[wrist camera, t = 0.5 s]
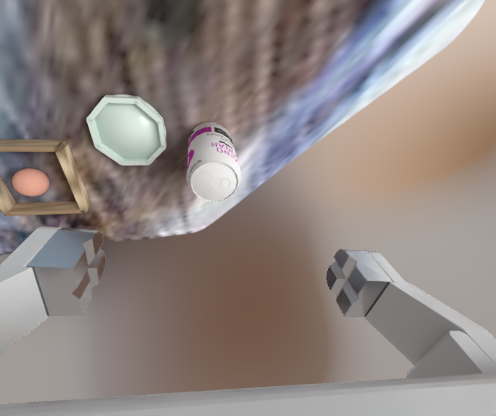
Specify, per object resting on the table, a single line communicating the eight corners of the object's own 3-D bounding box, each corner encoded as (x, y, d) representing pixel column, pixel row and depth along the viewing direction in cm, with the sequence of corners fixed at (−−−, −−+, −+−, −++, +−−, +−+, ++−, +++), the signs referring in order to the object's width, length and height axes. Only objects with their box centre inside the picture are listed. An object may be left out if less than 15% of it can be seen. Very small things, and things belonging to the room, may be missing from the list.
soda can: (188, 159, 49) (186, 205, 37) (188, 118, 44) (186, 155, 32) (228, 162, 50) (238, 206, 39) (233, 122, 46) (246, 159, 34)
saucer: (82, 92, 39) (77, 95, 37) (161, 95, 41) (160, 99, 39) (103, 160, 46) (100, 165, 44) (169, 160, 48) (168, 165, 47)
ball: (16, 163, 44) (-2, 177, 40) (47, 163, 44) (33, 177, 41) (29, 186, 47) (14, 202, 43) (58, 186, 48) (46, 201, 44)
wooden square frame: (-29, 138, 40) (-43, 146, 38) (66, 140, 43) (58, 147, 40) (13, 206, 49) (4, 215, 46) (90, 203, 51) (85, 212, 49)
